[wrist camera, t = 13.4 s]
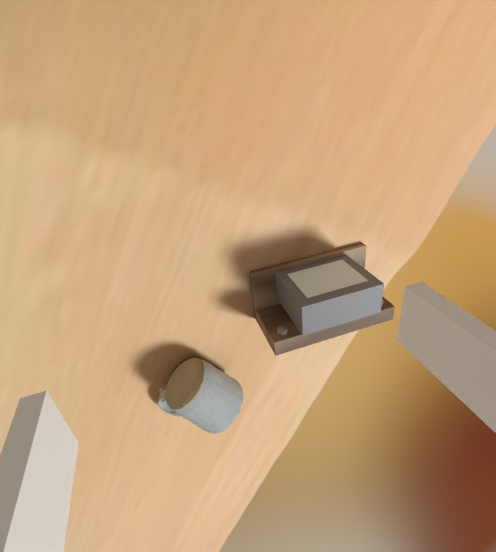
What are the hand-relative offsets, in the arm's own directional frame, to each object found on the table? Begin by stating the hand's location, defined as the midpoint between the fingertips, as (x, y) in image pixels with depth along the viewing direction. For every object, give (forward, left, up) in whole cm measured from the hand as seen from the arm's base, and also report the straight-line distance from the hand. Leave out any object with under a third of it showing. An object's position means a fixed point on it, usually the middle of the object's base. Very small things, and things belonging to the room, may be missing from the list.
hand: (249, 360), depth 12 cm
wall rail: (+16, +15, -27) cm, 35 cm away
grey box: (+15, +15, -26) cm, 33 cm away
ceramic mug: (+28, -3, -27) cm, 39 cm away
